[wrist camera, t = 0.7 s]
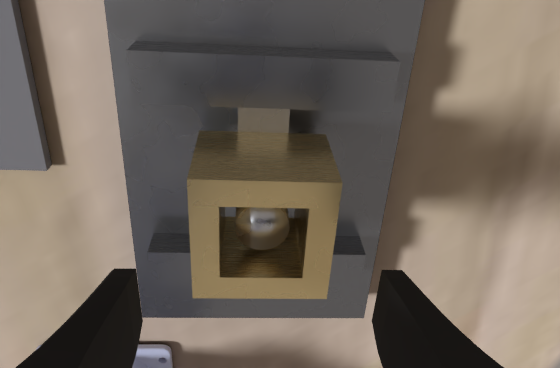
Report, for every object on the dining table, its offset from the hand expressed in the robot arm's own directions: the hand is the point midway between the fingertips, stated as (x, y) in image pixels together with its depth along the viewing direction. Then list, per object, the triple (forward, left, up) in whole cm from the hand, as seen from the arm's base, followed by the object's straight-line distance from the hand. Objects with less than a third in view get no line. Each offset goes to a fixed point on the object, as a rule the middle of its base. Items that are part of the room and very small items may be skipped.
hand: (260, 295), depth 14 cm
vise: (+1, 0, -10) cm, 10 cm away
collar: (0, 0, -7) cm, 7 cm away
